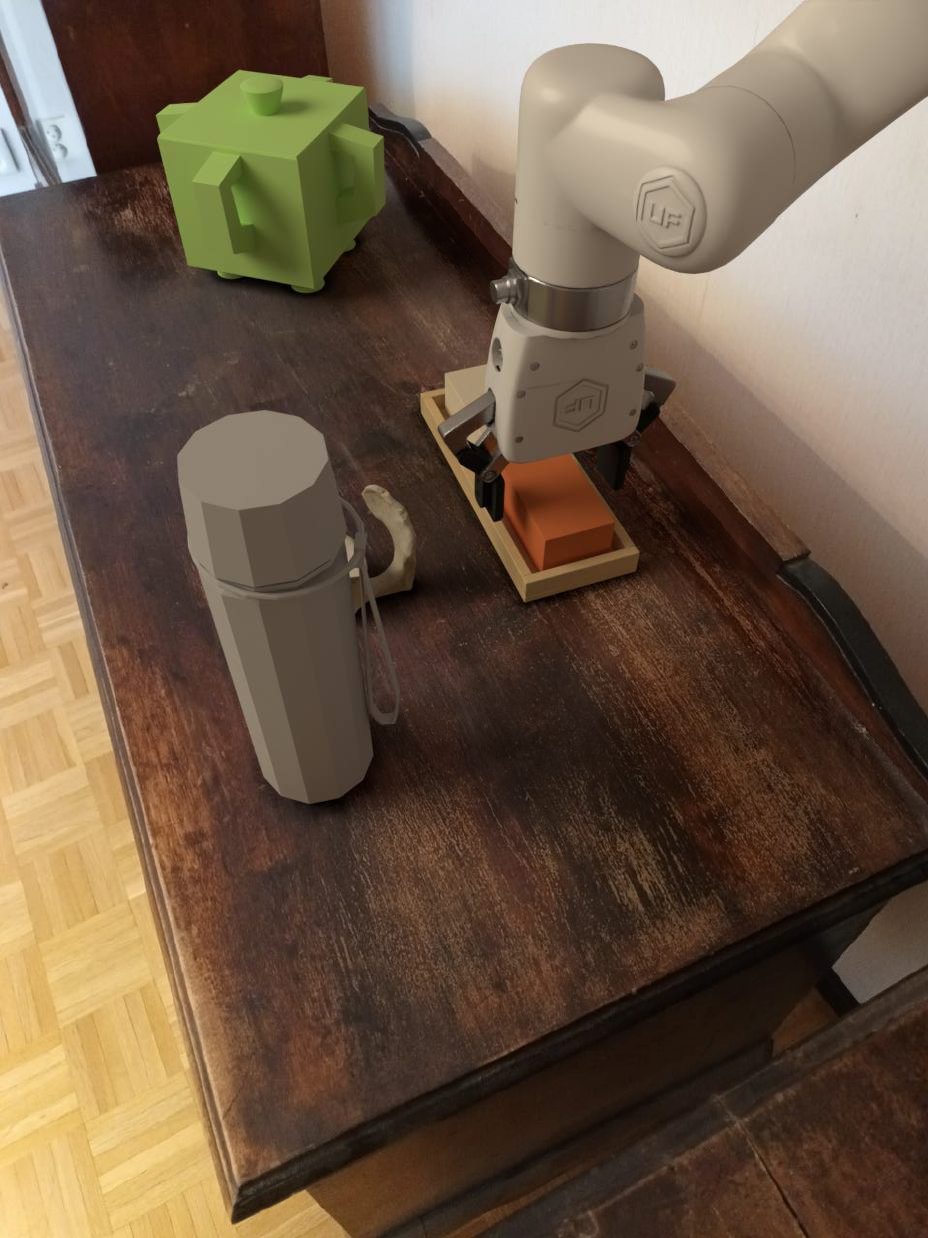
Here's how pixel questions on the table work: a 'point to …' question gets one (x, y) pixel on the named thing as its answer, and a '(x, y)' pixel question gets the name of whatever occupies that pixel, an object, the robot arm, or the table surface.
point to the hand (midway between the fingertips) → (550, 493)
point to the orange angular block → (556, 512)
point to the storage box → (272, 176)
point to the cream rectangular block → (465, 393)
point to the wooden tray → (508, 542)
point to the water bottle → (285, 597)
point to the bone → (404, 542)
